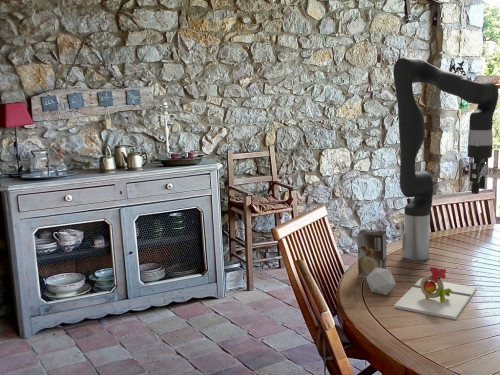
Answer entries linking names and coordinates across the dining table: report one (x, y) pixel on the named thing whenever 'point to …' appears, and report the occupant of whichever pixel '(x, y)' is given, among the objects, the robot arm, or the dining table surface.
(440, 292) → the bird rattle
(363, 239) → the coffee box
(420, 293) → the mat
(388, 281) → the die
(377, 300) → the dining table surface
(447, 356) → the dining table surface
